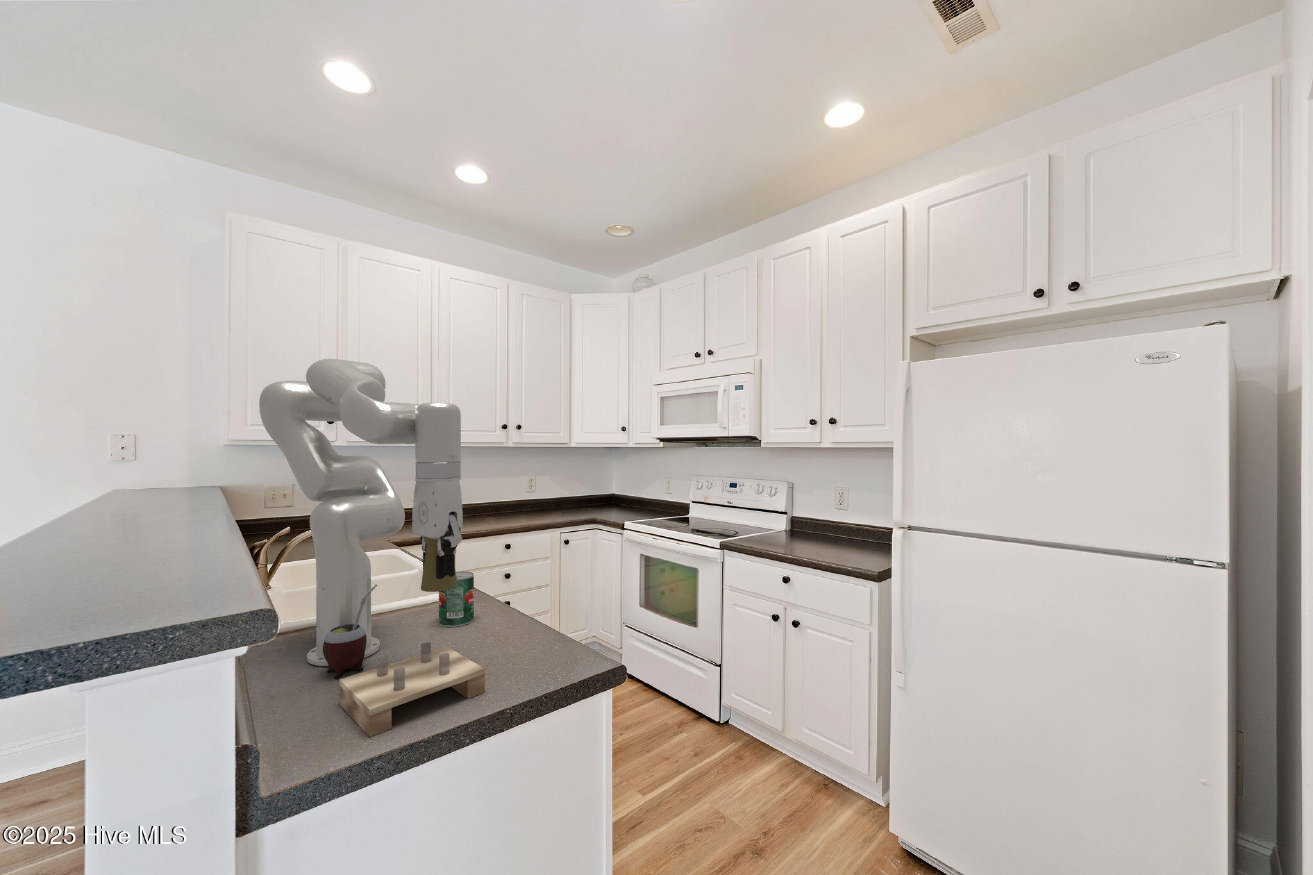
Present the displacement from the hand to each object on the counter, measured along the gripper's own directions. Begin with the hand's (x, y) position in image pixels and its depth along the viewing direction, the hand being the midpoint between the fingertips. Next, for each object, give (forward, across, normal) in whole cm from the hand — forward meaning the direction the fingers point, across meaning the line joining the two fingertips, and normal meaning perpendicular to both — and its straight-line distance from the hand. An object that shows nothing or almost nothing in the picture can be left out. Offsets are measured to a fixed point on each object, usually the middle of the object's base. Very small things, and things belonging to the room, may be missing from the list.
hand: (438, 573), depth 92 cm
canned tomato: (+19, -27, +18) cm, 38 cm away
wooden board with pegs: (+19, +2, -6) cm, 20 cm away
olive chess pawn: (+2, 0, 0) cm, 2 cm away
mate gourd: (+19, -18, -9) cm, 28 cm away
